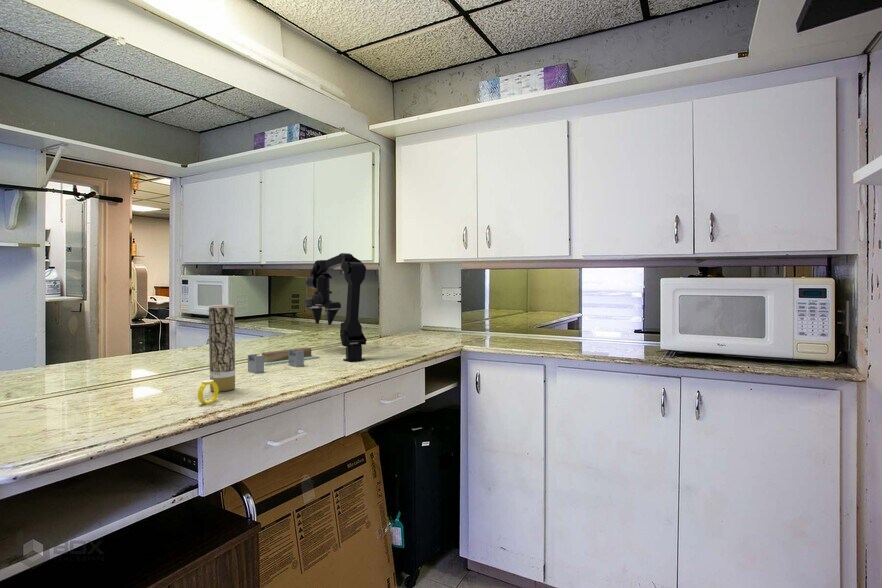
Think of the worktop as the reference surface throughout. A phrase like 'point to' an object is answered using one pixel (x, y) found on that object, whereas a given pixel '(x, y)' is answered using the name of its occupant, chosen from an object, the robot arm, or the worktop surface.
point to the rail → (283, 354)
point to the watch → (201, 389)
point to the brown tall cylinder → (222, 346)
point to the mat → (288, 360)
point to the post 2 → (296, 357)
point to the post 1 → (255, 363)
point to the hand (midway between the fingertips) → (323, 324)
